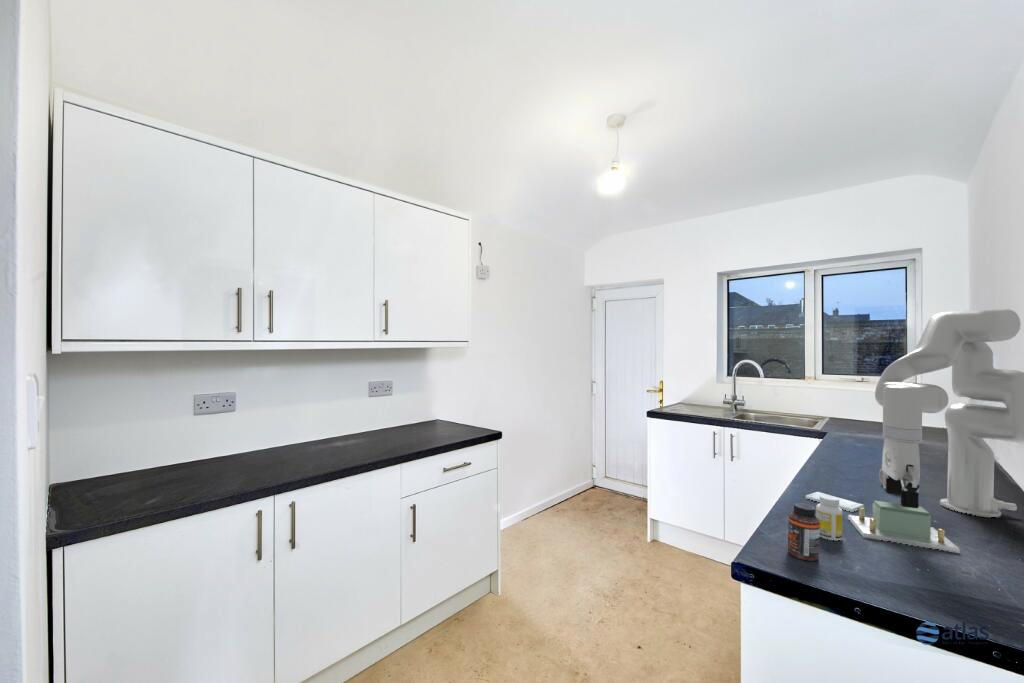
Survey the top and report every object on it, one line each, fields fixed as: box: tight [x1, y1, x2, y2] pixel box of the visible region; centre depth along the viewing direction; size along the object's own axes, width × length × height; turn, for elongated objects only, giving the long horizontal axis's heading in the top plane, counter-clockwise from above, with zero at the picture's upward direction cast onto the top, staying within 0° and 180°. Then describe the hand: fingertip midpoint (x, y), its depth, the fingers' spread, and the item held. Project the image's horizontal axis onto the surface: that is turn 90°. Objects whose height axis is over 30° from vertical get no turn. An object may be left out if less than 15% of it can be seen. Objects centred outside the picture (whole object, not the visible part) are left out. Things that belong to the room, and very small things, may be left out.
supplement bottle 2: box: [815, 494, 844, 542], centre depth 109 cm, size 5×5×10 cm
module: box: [871, 500, 932, 538], centre depth 111 cm, size 10×5×6 cm, turn 66°
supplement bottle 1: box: [787, 502, 821, 562], centre depth 99 cm, size 6×6×11 cm
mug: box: [878, 468, 908, 490], centre depth 149 cm, size 10×7×7 cm, turn 179°
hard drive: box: [805, 491, 865, 513], centre depth 134 cm, size 2×8×12 cm
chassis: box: [847, 507, 960, 554], centre depth 111 cm, size 18×13×4 cm
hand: (901, 500), depth 112 cm, fingers open, 9 cm apart
